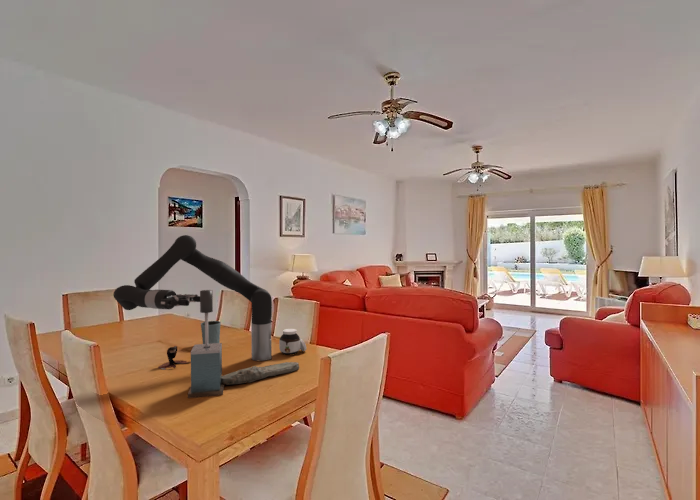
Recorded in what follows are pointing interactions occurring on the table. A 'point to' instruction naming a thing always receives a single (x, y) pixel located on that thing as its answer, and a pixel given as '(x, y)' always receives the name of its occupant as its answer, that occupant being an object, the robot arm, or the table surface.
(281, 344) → the spread jar
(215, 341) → the drinking glass
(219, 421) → the table surface
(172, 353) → the dark brown curved piece
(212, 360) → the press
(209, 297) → the lever
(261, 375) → the long grey stone
